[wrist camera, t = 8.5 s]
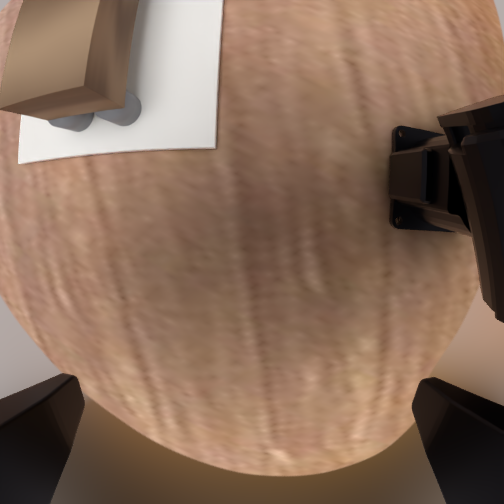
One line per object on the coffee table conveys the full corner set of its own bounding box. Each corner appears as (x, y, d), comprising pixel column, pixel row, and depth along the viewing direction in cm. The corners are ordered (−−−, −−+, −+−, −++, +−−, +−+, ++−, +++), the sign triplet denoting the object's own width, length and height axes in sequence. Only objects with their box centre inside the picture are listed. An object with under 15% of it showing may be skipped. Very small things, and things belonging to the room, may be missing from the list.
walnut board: (124, 107, 14) (83, 85, 9) (47, 120, 14) (-3, 109, 9) (152, -55, 11) (134, -96, 7) (83, -37, 11) (55, -70, 7)
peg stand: (228, -51, 14) (226, -78, 11) (216, 148, 17) (209, 141, 14) (58, -18, 14) (39, -35, 10) (24, 163, 17) (-5, 164, 14)
